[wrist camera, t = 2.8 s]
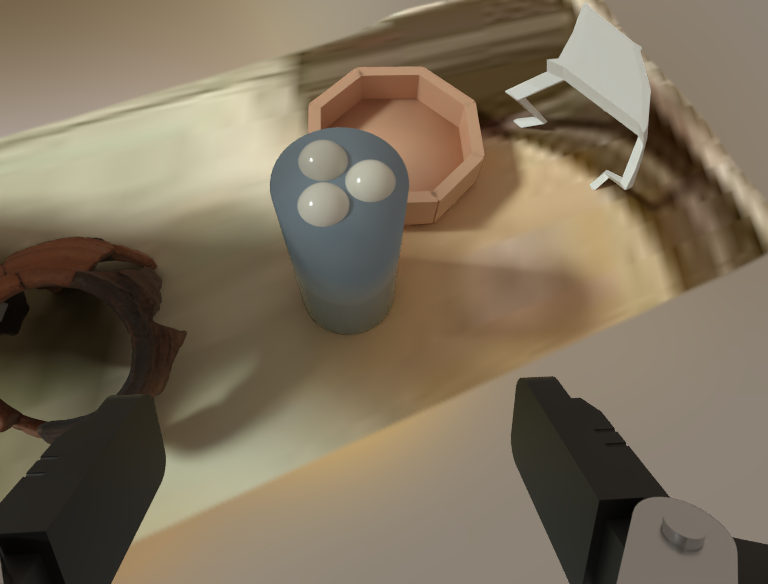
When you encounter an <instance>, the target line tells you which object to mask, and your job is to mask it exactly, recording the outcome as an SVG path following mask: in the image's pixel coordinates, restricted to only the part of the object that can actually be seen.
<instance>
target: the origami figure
mask: <svg viewBox="0 0 768 584" xmlns="http://www.w3.org/2000/svg"><path fill="white" fill-rule="evenodd" d="M641 48H642V47H640V46H639V45H637V44H635V43H634V42H633V41H631V40H630V39H629V38H628V37H626V36H625V35H624V34H623V33H621V32H620V31H619V30H618V29H616V28H615V27H614V26H613V25H612V24H610V23H609V22H608V21H607V20H605V19H604V18H603V17H602V16H600V15H599V14H598V13H597V12H595V11H594V10H593V9H592V8H590V7H589V5H588V4H587V2H585V3H584V5H583V7H582V9H581V12H580V14H579V17H578V19H577V22H576V25H575V28H574V31H573V33H572V35H571V37H570V39H569V40H568V42H567V44H566V46H565V48H564V50H563V51H562V53H561V55H560V57H559V59H550V60H547V72H545V73H543V74H541V75H539V76H536V77H534V78H532V79H530V80H528V81H525V82H523V83H521V84H519V85H517V86H515V87H513V88H511V89H509V90H506V91H505V92H506V93H507V94H509V95H510V96H511V97H512V98H513V99H515V100H516V101H517V102H518V103H519V104H521V105H522V106H523V107H524V108H525V109H527V110H528V111H529V112H530V113H531V114H533V115H534V116H535V117H527V118H519V119H516V120H514V122H515V123H516V124H517V125H519V126H520V127H521V128H523V127H529V126H535V125H541V124H545V123H546V122H547V121H546V120H545V119H544V117H543V116H542V115H541V114H540V113H539V112H538V111H537V110H536V109H535V108H534V107H533V106H532V105H531V104H530V103H529V101H528V100H527V99H526V98H525V97H528V96H530V95H532V94H535V93H537V92H539V91H542V90H544V89H546V88H548V87H551V86H553V85H556V84H558V83H560V82H563V81H566V82H568V83H569V84H570V85H572V86H573V87H574V88H576V89H577V90H578V91H580V92H581V93H582V94H584V95H585V96H586V97H588V98H589V99H590V100H592V101H593V102H594V103H595V104H597V105H598V106H599V107H601V108H602V109H603V110H604V111H605V112H607V113H609V114H610V115H611V116H613V117H614V118H615V119H617V120H618V121H619V122H621V123H622V124H623V125H625V126H626V127H627V128H629V129H630V130H631V131H633V132H634V133H635V134H637V135H638V139H637V141H636V144H635V146H634V149H633V152H632V154H631V157H630V159H629V162H628V164H627V167H626V169H625V172H624V175H623V177H620V176H618V175H616V174H614V173H612V172H610V171H607V170H606V171H605V172H604V173H603V174H602V175H600V176H599V177H598V178H597V179H596V180H595V181H594V182H592V183H591V184H590V186H591V187H592V189H593V190H595V189H597V188H598V187H599V186H600V185H601V184H602V183H604V182H605V181H606V180H607V179H608V178H610V179H611V180H613V181H614V182H615V183H616V184H618V185H619V186H620V187H622V188H623V189H624V190H627V189H629V188H631V187H632V186H633V184H634V181H635V178H636V175H637V172H638V169H639V166H640V164H641V160H642V156H643V153H644V149H645V145H646V141H647V136H648V121H649V106H650V95H651V88H650V84H649V80H648V76H647V72H646V69H645V66H644V62H643V59H642V56H641V53H640V51H641Z"/></svg>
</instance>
